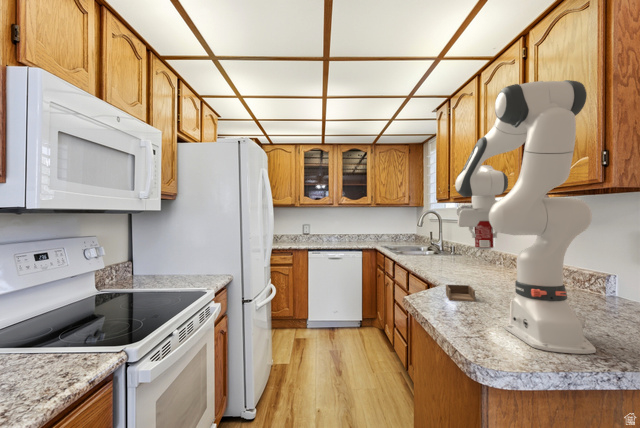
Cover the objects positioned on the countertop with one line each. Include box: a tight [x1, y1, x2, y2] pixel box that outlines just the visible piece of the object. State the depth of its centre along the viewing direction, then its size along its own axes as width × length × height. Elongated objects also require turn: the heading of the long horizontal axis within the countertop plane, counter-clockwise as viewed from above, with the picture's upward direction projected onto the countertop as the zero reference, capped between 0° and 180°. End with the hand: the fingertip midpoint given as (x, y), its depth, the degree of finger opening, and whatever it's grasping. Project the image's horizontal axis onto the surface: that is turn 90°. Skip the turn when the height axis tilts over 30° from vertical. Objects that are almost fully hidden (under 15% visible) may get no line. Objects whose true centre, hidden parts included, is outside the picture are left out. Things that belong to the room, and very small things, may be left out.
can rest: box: [445, 284, 476, 302], centre depth 130 cm, size 10×10×4 cm
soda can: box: [474, 220, 494, 251], centre depth 131 cm, size 7×7×12 cm
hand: (484, 237), depth 131 cm, fingers closed on soda can, 6 cm apart
